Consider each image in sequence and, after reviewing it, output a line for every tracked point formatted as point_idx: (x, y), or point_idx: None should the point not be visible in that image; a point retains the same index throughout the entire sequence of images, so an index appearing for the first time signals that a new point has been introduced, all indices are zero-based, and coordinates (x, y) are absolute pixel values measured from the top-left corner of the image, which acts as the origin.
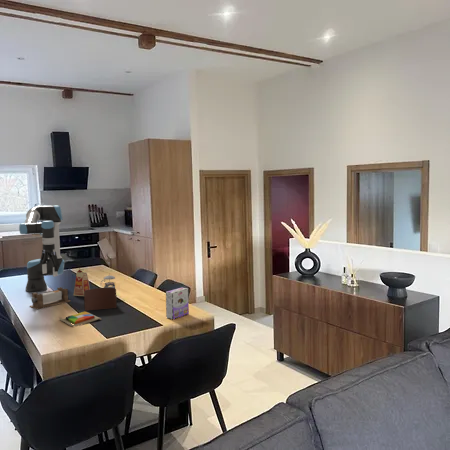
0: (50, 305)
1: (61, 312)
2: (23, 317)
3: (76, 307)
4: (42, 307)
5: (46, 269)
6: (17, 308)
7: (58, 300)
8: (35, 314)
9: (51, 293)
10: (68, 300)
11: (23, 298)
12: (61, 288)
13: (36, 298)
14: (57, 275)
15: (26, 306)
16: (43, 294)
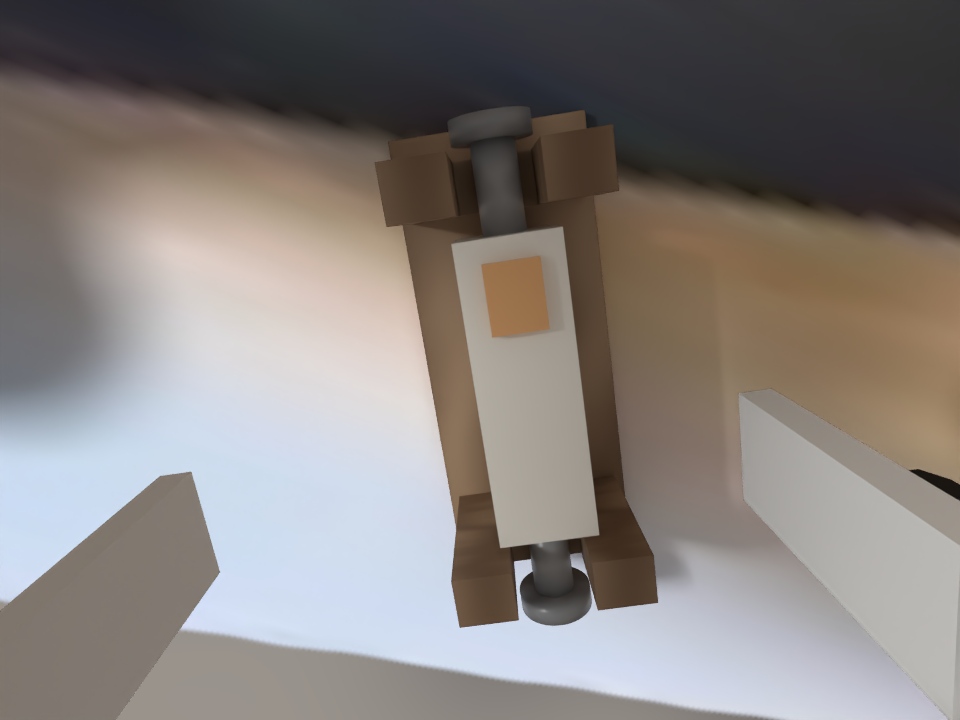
0: (613, 394)
1: (943, 398)
2: (790, 706)
3: (903, 184)
4: (623, 486)
5: (132, 537)
6: (431, 653)
7: (456, 232)
8: (786, 604)
9: (575, 392)
10: (552, 132)
11: (29, 486)
12: (448, 174)
13: (560, 572)
14: (780, 397)
15: (417, 571)
16: (547, 495)
